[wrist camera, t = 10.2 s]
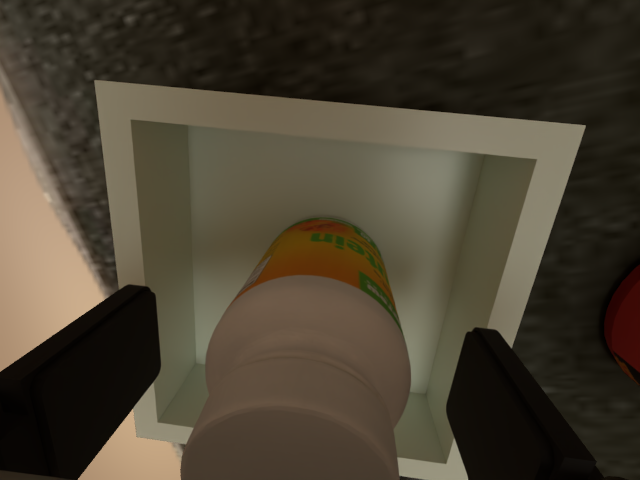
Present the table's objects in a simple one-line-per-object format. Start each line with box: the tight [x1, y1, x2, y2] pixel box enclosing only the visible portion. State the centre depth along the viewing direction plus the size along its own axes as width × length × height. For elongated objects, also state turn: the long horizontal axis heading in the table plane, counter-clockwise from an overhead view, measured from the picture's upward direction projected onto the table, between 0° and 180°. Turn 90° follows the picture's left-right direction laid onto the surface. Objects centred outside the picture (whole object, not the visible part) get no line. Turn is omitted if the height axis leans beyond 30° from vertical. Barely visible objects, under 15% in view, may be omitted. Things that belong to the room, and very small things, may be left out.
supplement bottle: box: [180, 216, 411, 480], centre depth 10 cm, size 5×5×10 cm
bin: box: [94, 80, 586, 480], centre depth 14 cm, size 14×14×4 cm
